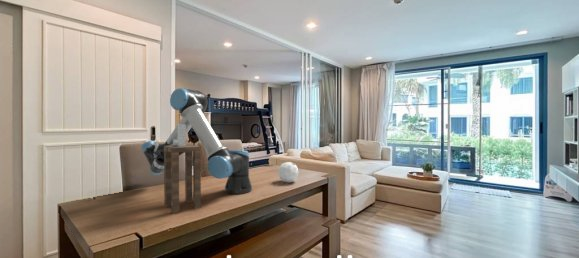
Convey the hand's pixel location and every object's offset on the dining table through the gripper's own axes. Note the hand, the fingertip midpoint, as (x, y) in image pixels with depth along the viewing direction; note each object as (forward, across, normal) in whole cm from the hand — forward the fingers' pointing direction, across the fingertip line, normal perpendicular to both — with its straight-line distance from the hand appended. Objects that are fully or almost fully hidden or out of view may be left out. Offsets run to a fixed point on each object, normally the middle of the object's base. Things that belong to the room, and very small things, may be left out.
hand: (172, 142), depth 124 cm
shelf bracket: (+5, -1, -4) cm, 6 cm away
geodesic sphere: (-7, -69, -30) cm, 75 cm away
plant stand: (-3, 0, -31) cm, 31 cm away
